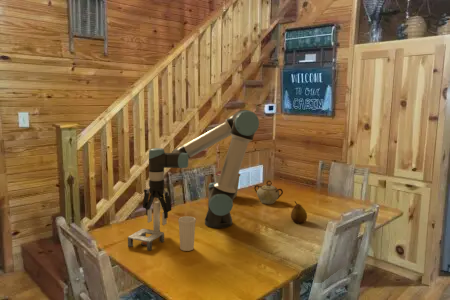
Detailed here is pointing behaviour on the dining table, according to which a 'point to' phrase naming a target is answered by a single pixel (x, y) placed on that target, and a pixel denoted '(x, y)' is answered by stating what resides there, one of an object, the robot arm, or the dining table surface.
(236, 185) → the canister
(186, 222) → the cup
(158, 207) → the beige rod
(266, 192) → the sugar bowl
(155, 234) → the stand
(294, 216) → the fruit
